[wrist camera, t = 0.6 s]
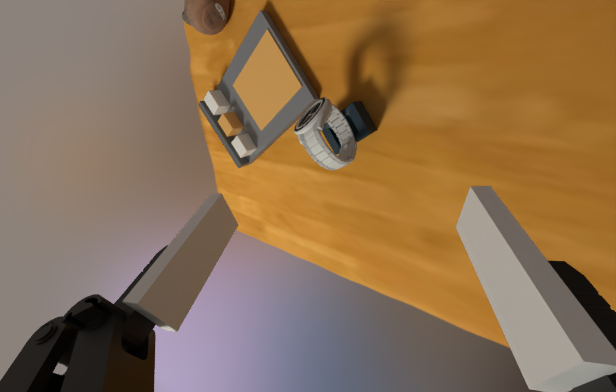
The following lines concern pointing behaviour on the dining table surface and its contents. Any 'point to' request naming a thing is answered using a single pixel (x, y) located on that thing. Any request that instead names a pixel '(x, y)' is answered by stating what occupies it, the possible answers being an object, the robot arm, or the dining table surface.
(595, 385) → the robot arm
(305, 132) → the watch
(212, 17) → the oil lamp
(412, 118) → the dining table surface
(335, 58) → the dining table surface
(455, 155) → the dining table surface
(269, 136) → the board
